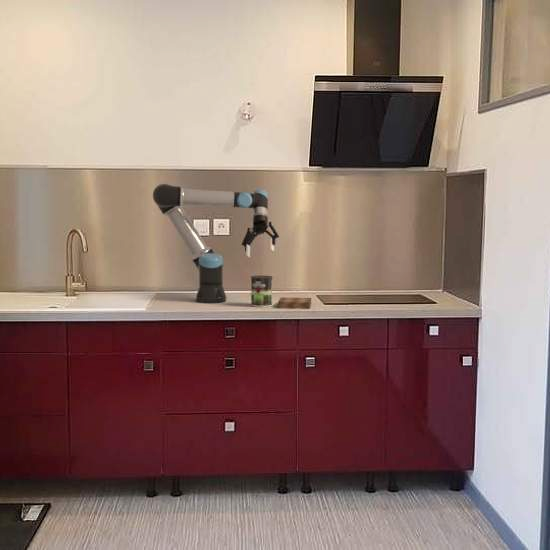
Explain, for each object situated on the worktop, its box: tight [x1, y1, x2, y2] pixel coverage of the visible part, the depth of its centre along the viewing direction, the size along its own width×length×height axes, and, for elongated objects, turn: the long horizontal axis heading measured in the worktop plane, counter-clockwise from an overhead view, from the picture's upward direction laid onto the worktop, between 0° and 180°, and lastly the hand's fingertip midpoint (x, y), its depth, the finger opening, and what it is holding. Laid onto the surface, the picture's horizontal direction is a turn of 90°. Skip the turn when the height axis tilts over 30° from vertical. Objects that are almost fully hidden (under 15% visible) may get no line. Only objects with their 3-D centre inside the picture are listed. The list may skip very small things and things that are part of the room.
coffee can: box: [250, 275, 273, 308], centre depth 347 cm, size 10×10×14 cm
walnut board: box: [277, 296, 312, 310], centre depth 346 cm, size 15×15×3 cm
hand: (260, 253), depth 359 cm, fingers open, 13 cm apart
